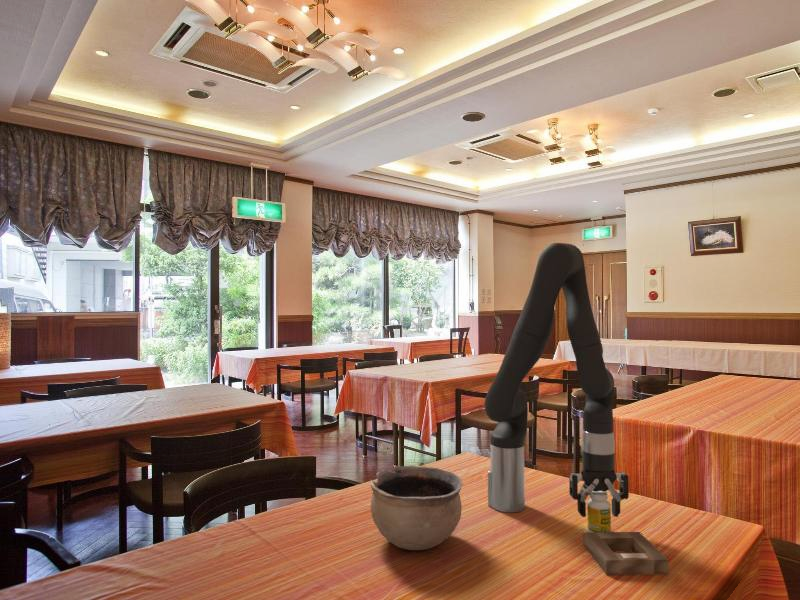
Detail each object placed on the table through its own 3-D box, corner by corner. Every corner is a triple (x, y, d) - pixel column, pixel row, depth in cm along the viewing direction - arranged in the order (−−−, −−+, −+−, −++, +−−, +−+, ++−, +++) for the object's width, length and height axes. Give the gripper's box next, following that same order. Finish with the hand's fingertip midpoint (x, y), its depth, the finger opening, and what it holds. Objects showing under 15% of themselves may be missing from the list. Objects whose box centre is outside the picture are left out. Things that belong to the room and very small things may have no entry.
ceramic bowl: (396, 516, 137) (396, 460, 137) (475, 531, 127) (474, 471, 127) (353, 553, 117) (352, 487, 117) (442, 574, 107) (442, 502, 108)
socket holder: (606, 574, 107) (606, 559, 107) (583, 545, 120) (583, 531, 120) (668, 574, 107) (668, 558, 107) (639, 544, 120) (638, 530, 120)
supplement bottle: (596, 525, 131) (596, 487, 131) (615, 532, 126) (615, 493, 126) (583, 530, 128) (582, 491, 128) (602, 538, 123) (601, 498, 123)
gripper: (574, 453, 123) (575, 522, 123) (634, 453, 123) (634, 521, 123) (564, 445, 131) (565, 509, 131) (620, 444, 131) (621, 509, 131)
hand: (599, 515), depth 127 cm, fingers open, 7 cm apart
